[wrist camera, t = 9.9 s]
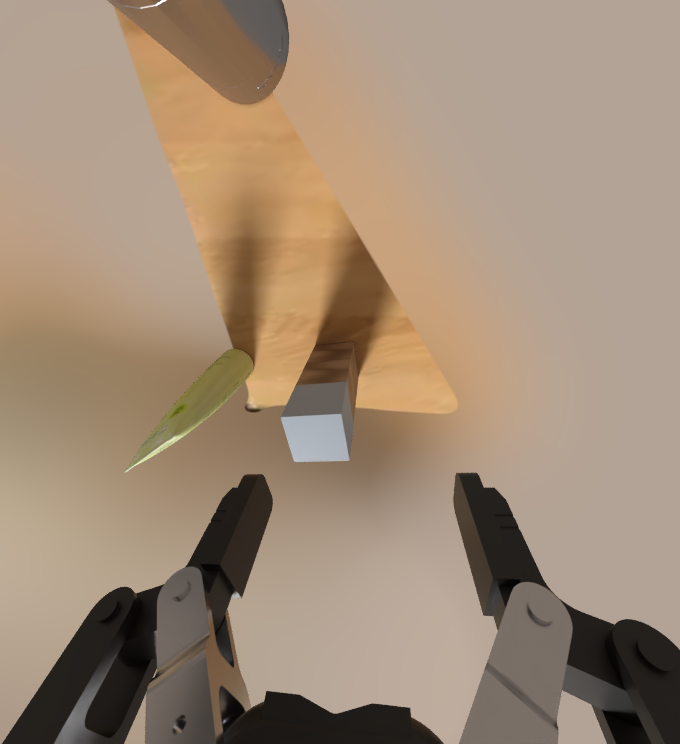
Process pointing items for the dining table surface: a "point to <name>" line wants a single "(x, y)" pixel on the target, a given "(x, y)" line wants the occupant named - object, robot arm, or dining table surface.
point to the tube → (198, 402)
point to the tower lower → (336, 355)
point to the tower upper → (330, 376)
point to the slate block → (319, 422)
